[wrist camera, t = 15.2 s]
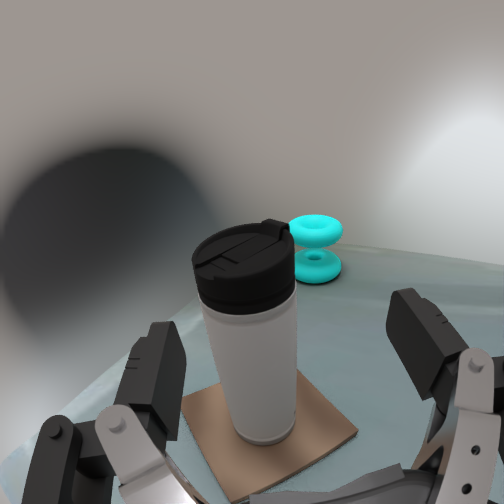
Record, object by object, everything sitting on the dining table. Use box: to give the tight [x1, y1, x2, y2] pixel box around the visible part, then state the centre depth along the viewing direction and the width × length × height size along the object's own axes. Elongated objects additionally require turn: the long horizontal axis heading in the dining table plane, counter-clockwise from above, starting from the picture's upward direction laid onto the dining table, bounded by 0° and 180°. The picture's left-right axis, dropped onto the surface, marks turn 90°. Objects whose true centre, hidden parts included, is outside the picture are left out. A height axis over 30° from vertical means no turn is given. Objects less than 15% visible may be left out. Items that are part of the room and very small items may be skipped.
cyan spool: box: [289, 215, 343, 283], centre depth 51 cm, size 10×10×10 cm
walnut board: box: [181, 369, 358, 504], centre depth 26 cm, size 14×14×1 cm
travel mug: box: [192, 219, 297, 446], centre depth 21 cm, size 6×7×20 cm
